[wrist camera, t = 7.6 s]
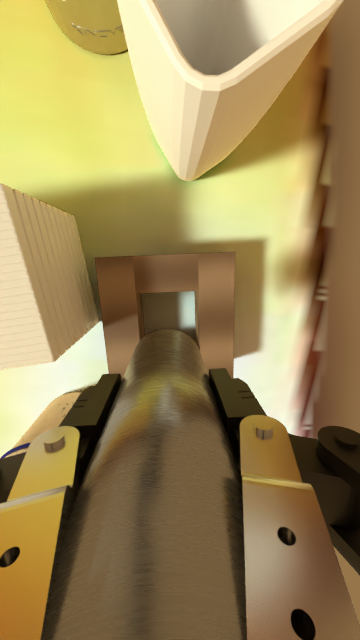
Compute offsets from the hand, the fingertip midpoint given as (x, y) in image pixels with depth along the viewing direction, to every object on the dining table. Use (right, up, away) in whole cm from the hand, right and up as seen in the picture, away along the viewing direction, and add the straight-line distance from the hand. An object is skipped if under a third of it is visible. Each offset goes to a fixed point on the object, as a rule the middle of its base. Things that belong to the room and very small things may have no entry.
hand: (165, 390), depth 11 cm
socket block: (0, +4, +15) cm, 16 cm away
